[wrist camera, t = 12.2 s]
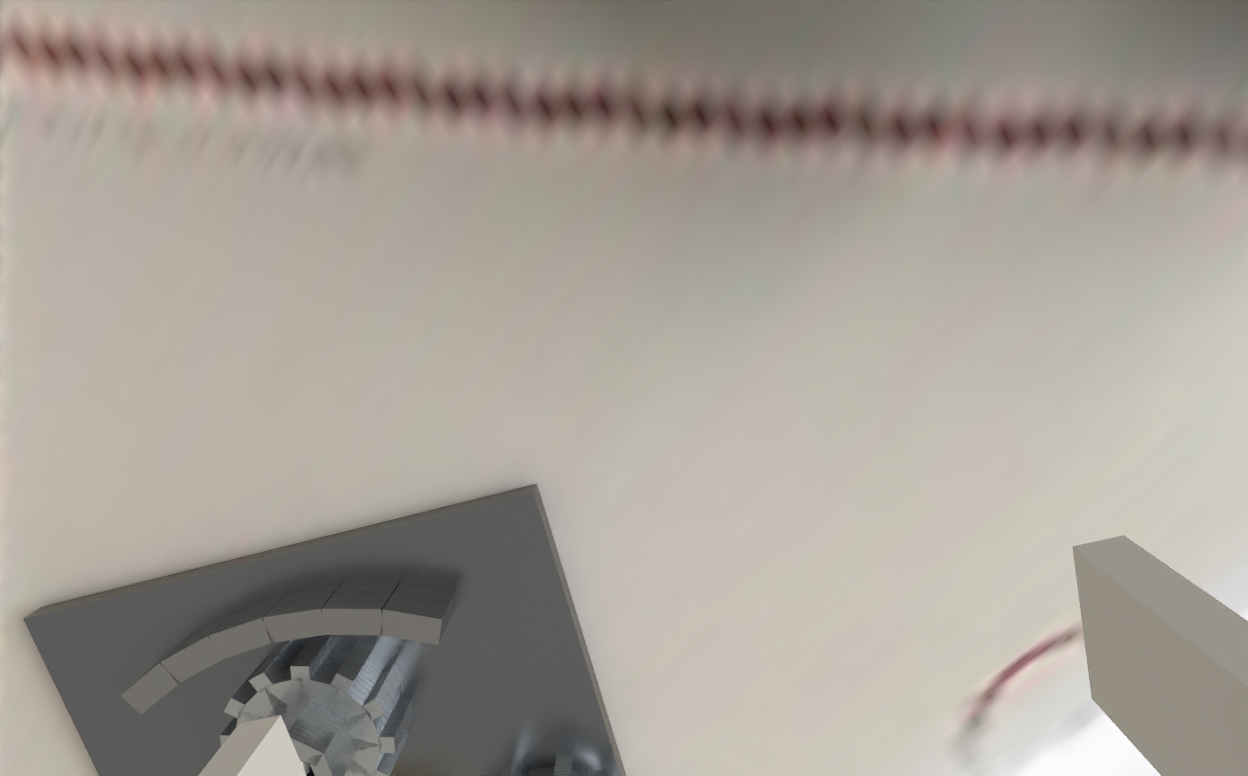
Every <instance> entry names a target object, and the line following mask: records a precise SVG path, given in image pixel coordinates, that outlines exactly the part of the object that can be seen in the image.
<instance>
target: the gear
mask: <svg viewBox="0 0 1248 776" xmlns="http://www.w3.org/2000/svg"><path fill="white" fill-rule="evenodd" d="M373 649H374V646H372V645H370V644H368V643H366V642H364V641H362V640H360V639H359V640H358V642H357V643H356V645H355V646H354V648H353V649H352V650H351V649H347V648H343V647H339V646H335V645H334V635H321V636H315V637H312V639H311V640H310V641H309V643H308V644H307V645H306V646H305V648H304V649H299V648H298V646H297V645H296V644H295V642H294V641H293V640H289V641H286V642H284V643H282V644H281V645H279V646H277V648H276V649H275V650H274V651H273V652H272V653H271V655H270V656H269V657H268V658H267V659H266V661H265V662H264V663H262V662H261V663H260V665H259V666H258V667H257V668H256V669H255V670H254V672H253V673H252V674H251V675H250V676H249V677H248V679H247V680H246V681H245V682H244V683H243V685H242V686H241V687H240V688H239V689H238V690H237V692H236V693H235V694H234V695H233V696H232V697H231V699H230V701H229V703H228V705H227V707H226V709H225V711H224V712H225V713H227V714H229V715H231V716H233V717H234V718H233V720H232V721H231V722H230V723H229V725H228V726H227V727H226V728H225V730H224V731H223V732H222V733H221V734H220V741H221V746H222V745H223V744H224V742H225V741H226V740H227V739H228V737H229V736H230V735H231V733H232V732H233V731H234V730H235V728H236V727H237V726H238V725H239V724H240V723H245V722H250V721H254V720H259V719H264V718H269V717H273V716H278V715H281V717H282V719H283V721H284V724H285V726H286V728H287V731H288V733H289V736H290V738H291V740H292V743H293V745H294V747H295V750H296V752H297V754H298V757H299V758H300V759H302V760H304V761H306V762H308V763H310V765H311V768H310V770H309V771H308V773H307V775H306V776H390V775H391V772H392V770H393V768H394V765H395V763H396V761H397V759H398V756H399V754H400V752H401V750H402V747H403V745H404V743H405V741H406V738H407V736H408V735H406V734H404V732H405V730H406V728H407V726H408V724H409V721H410V719H411V717H412V715H413V709H412V699H398V698H397V695H396V691H397V689H398V687H399V685H400V683H401V681H402V679H403V675H402V674H401V673H400V671H399V670H398V668H397V667H396V666H395V664H393V665H391V666H389V667H387V668H385V669H383V670H382V669H381V668H380V667H379V666H377V665H376V664H375V663H374V662H373V661H372V660H370V659H369V656H370V654H371V652H372V651H373Z"/></svg>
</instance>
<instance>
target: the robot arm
mask: <svg viewBox="0 0 1248 776" xmlns="http://www.w3.org/2000/svg"><path fill="white" fill-rule="evenodd" d="M1073 554H1074V562H1075V569H1076V577H1077V585H1078V593H1079V601H1080V609H1081V617H1082V624H1083V632H1084V640H1085V648H1086V656H1087V664H1088V672H1089V680H1090V687H1091V695H1092V699H1093V700H1094V701H1095V702H1096V704H1097V705H1098V706H1099V707H1100V708H1101V709H1102V710H1103V711H1104V712H1105V714H1106V715H1107V716H1108V717H1109V718H1110V719H1111V720H1112V721H1113V722H1114V724H1115V725H1116V726H1117V727H1118V728H1119V729H1120V730H1121V731H1122V732H1123V734H1124V735H1125V736H1126V737H1127V738H1128V739H1129V740H1130V741H1131V742H1132V743H1133V745H1134V746H1135V747H1136V748H1137V749H1138V750H1139V751H1140V752H1141V753H1142V755H1143V756H1144V757H1145V758H1146V759H1147V760H1148V761H1149V762H1150V763H1151V765H1152V766H1153V767H1154V768H1155V769H1156V770H1157V771H1158V772H1159V773H1160V775H1161V776H1248V621H1247V620H1245V619H1244V618H1242V617H1241V616H1240V615H1238V614H1237V613H1235V612H1234V611H1232V610H1231V609H1229V608H1228V607H1226V606H1225V605H1224V604H1222V603H1221V602H1219V601H1218V600H1216V599H1215V598H1213V597H1212V596H1211V595H1209V594H1208V593H1206V592H1205V591H1203V590H1202V589H1200V588H1199V587H1198V586H1196V585H1195V584H1193V583H1192V582H1190V581H1189V580H1187V579H1186V578H1185V577H1183V576H1182V575H1180V574H1179V573H1177V572H1176V571H1174V570H1173V569H1172V568H1170V567H1169V566H1167V565H1166V564H1164V563H1163V562H1161V561H1160V560H1159V559H1157V558H1156V557H1154V556H1153V555H1151V554H1150V553H1148V552H1147V551H1146V550H1144V549H1143V548H1141V547H1140V546H1138V545H1137V544H1135V543H1134V542H1133V541H1131V540H1130V539H1128V538H1127V537H1125V536H1120V537H1115V538H1110V539H1105V540H1101V541H1096V542H1091V543H1087V544H1082V545H1077V546H1073ZM198 776H306V773H305V771H304V769H303V766H302V764H301V761H300V759H299V757H298V754H297V752H296V750H295V747H294V745H293V743H292V740H291V738H290V736H289V733H288V731H287V728H286V726H285V724H284V721H283V719H282V717H281V715H278V716H273V717H269V718H264V719H259V720H254V721H250V722H245V723H240V724H239V725H238V726H237V727H236V728H235V730H234V731H233V732H232V733H231V735H230V736H229V737H228V739H227V740H226V741H225V742H224V744H223V745H222V746H221V747H220V749H219V750H218V751H217V752H216V754H215V755H214V756H213V758H212V759H211V760H210V761H209V763H208V764H207V765H206V766H205V768H204V769H203V770H202V771H201V773H200V774H199V775H198Z"/></svg>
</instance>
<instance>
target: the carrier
mask: <svg viewBox="0 0 1248 776" xmlns="http://www.w3.org/2000/svg"><path fill="white" fill-rule="evenodd" d="M24 621H25V623H26V625H27V627H28V629H29V631H30V633H31V636H32V638H33V640H34V642H35V644H36V646H37V648H38V650H39V652H40V654H41V656H42V658H43V660H44V662H45V664H46V666H47V669H48V671H49V673H50V675H51V677H52V679H53V681H54V683H55V685H56V687H57V689H58V691H59V693H60V695H61V697H62V699H63V702H64V704H65V706H66V708H67V710H68V712H69V714H70V716H71V718H72V720H73V722H74V724H75V726H76V728H77V730H78V732H79V735H80V737H81V739H82V741H83V743H84V745H85V747H86V749H87V751H88V753H89V755H90V757H91V759H92V761H93V763H94V765H95V768H96V770H97V772H98V774H99V776H198V775H199V774H200V773H201V771H202V770H203V769H204V768H205V766H206V765H207V764H208V763H209V761H210V760H211V759H212V758H213V756H214V755H215V754H216V752H217V751H218V750H219V749H220V747H221V741H220V734H221V733H222V732H223V731H224V730H225V728H226V727H227V726H228V725H229V723H230V722H231V721H232V720H233V718H234V717H233V716H231V715H229V714H227V713H225V712H224V711H225V709H226V707H227V705H228V703H229V701H230V699H231V697H232V696H233V695H234V694H235V693H236V692H237V690H238V689H239V688H240V687H241V686H242V685H243V683H244V682H245V681H246V680H247V679H248V677H249V676H250V675H251V674H252V673H253V672H254V670H255V669H256V668H257V667H258V666H259V665H260V663H261V662H262V663H264V662H265V661H266V659H267V658H268V657H269V656H270V655H271V653H272V652H273V651H274V650H275V649H276V648H277V646H279V645H281V644H282V643H284V642H286V641H289V640H293V641H294V642H295V644H296V645H297V646H298V648H299V649H304V648H305V646H306V645H307V644H308V643H309V641H310V640H311V639H312V637H315V636H321V635H334V645H335V646H339V647H343V648H347V649H351V650H352V649H353V648H354V646H355V645H356V643H357V642H358V640H359V639H360V640H362V641H364V642H366V643H368V644H370V645H372V646H374V649H373V651H372V652H371V654H370V656H369V659H370V660H372V661H373V662H374V663H375V664H376V665H377V666H379V667H380V668H381V669H382V670H383V669H385V668H387V667H389V666H391V665H393V664H395V666H396V667H397V668H398V670H399V671H400V673H401V674H402V675H403V679H402V681H401V683H400V685H399V687H398V689H397V691H396V695H397V698H398V699H412V709H413V715H412V717H411V719H410V721H409V724H408V726H407V728H406V730H405V732H404V734H406V735H408V736H407V738H406V741H405V743H404V745H403V747H402V750H401V752H400V754H399V756H398V759H397V761H396V763H395V765H394V768H393V770H392V772H391V775H390V776H626V774H625V771H624V768H623V764H622V761H621V758H620V755H619V751H618V748H617V745H616V741H615V738H614V735H613V732H612V728H611V725H610V722H609V719H608V715H607V712H606V709H605V706H604V702H603V699H602V696H601V692H600V689H599V686H598V683H597V679H596V676H595V673H594V670H593V666H592V663H591V660H590V657H589V653H588V650H587V647H586V643H585V640H584V637H583V634H582V630H581V627H580V624H579V621H578V617H577V614H576V611H575V608H574V604H573V601H572V598H571V594H570V591H569V588H568V585H567V581H566V578H565V575H564V572H563V568H562V565H561V562H560V559H559V555H558V552H557V549H556V545H555V542H554V539H553V536H552V532H551V529H550V526H549V523H548V519H547V516H546V513H545V509H544V506H543V503H542V500H541V496H540V493H539V490H538V487H537V484H536V485H532V486H528V487H524V488H519V489H515V490H511V491H507V492H503V493H499V494H495V495H491V496H487V497H483V498H479V499H475V500H471V501H467V502H463V503H459V504H455V505H451V506H447V507H443V508H439V509H435V510H431V511H427V512H423V513H419V514H415V515H411V516H407V517H403V518H399V519H395V520H391V521H387V522H382V523H378V524H374V525H370V526H366V527H362V528H358V529H354V530H350V531H346V532H342V533H338V534H334V535H330V536H326V537H322V538H318V539H314V540H310V541H306V542H302V543H298V544H294V545H290V546H286V547H282V548H278V549H274V550H270V551H266V552H262V553H258V554H254V555H250V556H246V557H241V558H237V559H233V560H229V561H225V562H221V563H217V564H213V565H209V566H205V567H201V568H197V569H193V570H189V571H185V572H181V573H177V574H173V575H169V576H165V577H161V578H157V579H153V580H149V581H145V582H141V583H137V584H133V585H129V586H125V587H121V588H117V589H113V590H109V591H104V592H100V593H96V594H92V595H88V596H84V597H80V598H76V599H72V600H68V601H64V602H60V603H56V604H52V605H48V606H44V607H41V608H39V609H38V610H36V611H35V612H33V613H32V614H30V615H29V616H27V617H25V618H24ZM299 759H300V758H299ZM300 761H301V764H302V766H303V769H304V771H305V773H306V775H307V773H308V771H309V770H310V768H311V765H310V763H308V762H306V761H304V760H302V759H300Z"/></svg>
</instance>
